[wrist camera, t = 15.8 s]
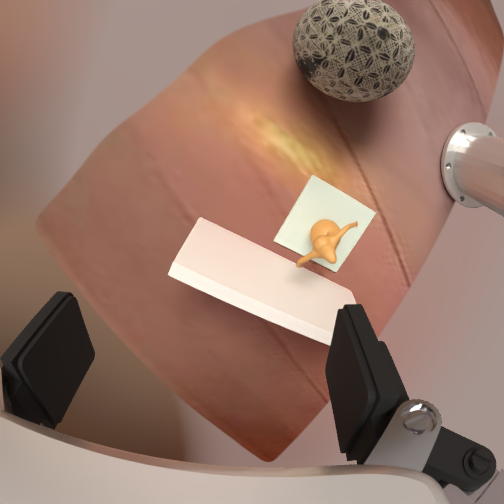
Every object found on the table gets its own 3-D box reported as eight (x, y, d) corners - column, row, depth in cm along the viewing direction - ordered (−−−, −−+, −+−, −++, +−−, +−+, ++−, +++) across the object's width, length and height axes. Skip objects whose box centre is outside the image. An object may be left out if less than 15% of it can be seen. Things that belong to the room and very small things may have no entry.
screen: (351, 290, 44) (375, 350, 32) (344, 299, 45) (366, 359, 33) (200, 216, 40) (173, 261, 28) (195, 226, 41) (167, 274, 29)
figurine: (306, 258, 42) (319, 310, 31) (278, 225, 40) (283, 270, 29) (356, 222, 39) (387, 263, 28) (330, 186, 37) (356, 217, 26)
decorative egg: (351, 6, 27) (395, -41, 14) (396, 84, 31) (462, 75, 18) (270, 38, 30) (273, -7, 16) (318, 119, 34) (351, 122, 21)
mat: (375, 211, 39) (375, 212, 38) (335, 271, 43) (336, 272, 42) (312, 174, 37) (312, 174, 37) (273, 239, 41) (273, 240, 41)
